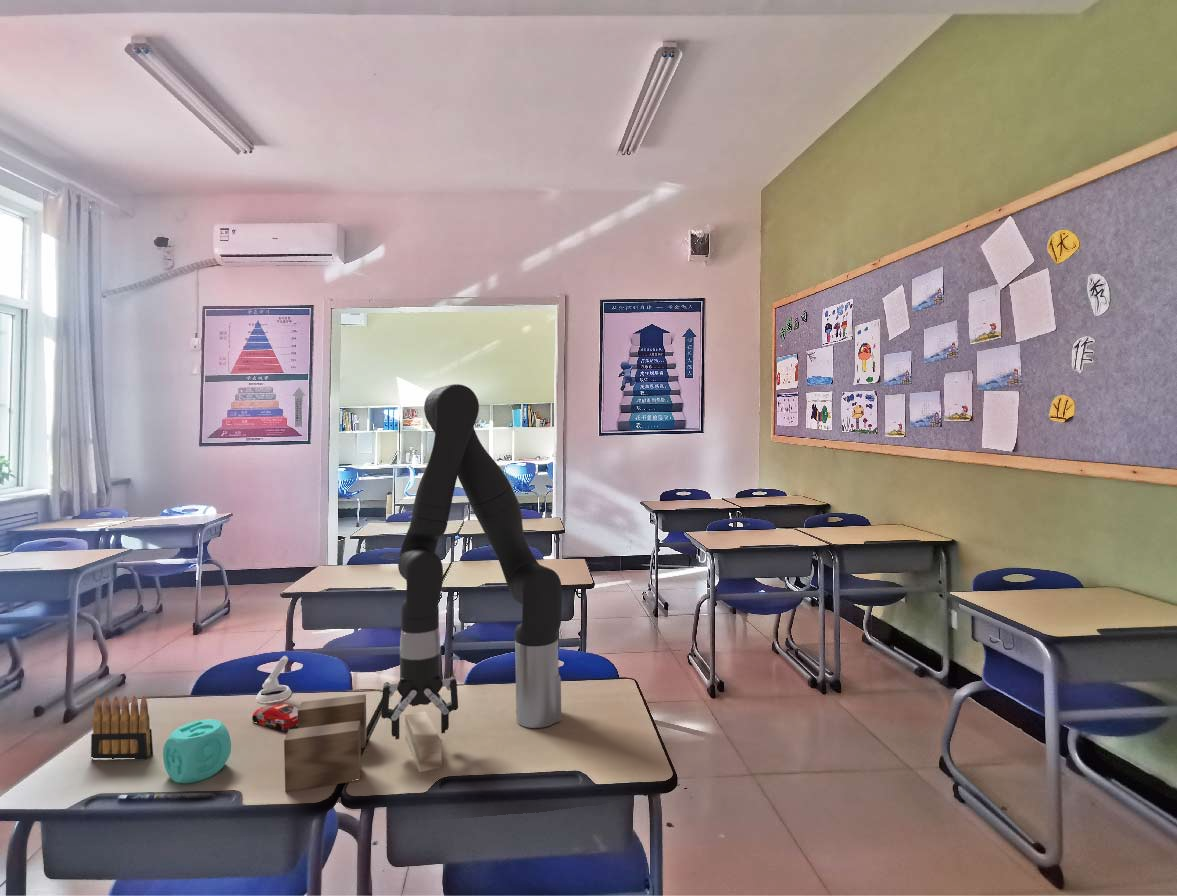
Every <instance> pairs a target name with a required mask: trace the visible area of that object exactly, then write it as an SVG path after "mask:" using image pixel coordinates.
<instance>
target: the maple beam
mask: <svg viewBox="0 0 1177 896" xmlns="http://www.w3.org/2000/svg"><path fill="white" fill-rule="evenodd" d="M404 717H405V718H404V721H405V722H404V724H405V725H404V727H405V730H404V732H405V735H404V736H405V742H406V743H407V746H408V748H409V750H410V752H411V755H412V757H413V759H414V762H415V765H416V767H417V769H418V771H419V773H421V772H426V771H429V770H434V769H437V768H442V767H443V765H442V764H443V763H442V762H443V761H442V759H443V757H442V754H443V752H442V740H441V737H440V735H439V734H438V732H437V730H436V728H435V727H434V725H433V723H432V721H431V719H430V718H429V715H428V714H427V712H426V711H425V710H424V711H419V712H415V713H411V714H406V715H404Z"/></svg>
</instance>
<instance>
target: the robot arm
mask: <svg viewBox="0 0 1177 896" xmlns="http://www.w3.org/2000/svg"><path fill="white" fill-rule="evenodd" d="M423 409H424V417H425V419H426V420H427V422H428V424H429V426H430V427H431V429H432V431H433V432H434V439H433V440H434V441H433V446H432V449H431V453H430V457H429V460H428V462H427V464H426V467H425V469H424V471H423V474H422V476H421V479H420V481H419V484H418V487H417V490H416V494H415V497H414V501H413V507H412V512H411V517H410V523H409V527H408V529H407V532H406V534H405V537H404V539H403V543H402V544H401V548H400V551H399V556H398V560H397V561H398V562H397V567H398V572H399V575H400V576H401V577H402V578H403V579H404V580H405V581H406V595H405V600H403V602H402V605H401V613H400V614H401V617H400V621H401V622H400V627H401V628H400V639H399V682H398V683H390V682H388V681H386V682H384V683H383V685H382V699H381V712H380V716H381V718H382V719H389V720H390V721H391V736H392V738H394V737H395V738H394V739H395V740H400V716H401V715H402V713H403V712H404V711H405V710H406V708H407V707H408V706H409V705H410V706H411V707H416V706H419V705H420V706H421V705H424V706H425V705H426V706H427V705H429V704H431V703H432V704H434V706H435V707H436V708H437V709H438V710H439V711H440V733H441V734H445V733H446V731H448V729H449V726H450V725H449V724H450V723H449V722H450V721H449V720H450V718H449V716H450V713H451V712H452V711H457V710H458V709H459V701H458V700H459V697H458V683H457V678H456V677H457V676H455V675H451V676H450V677H448V678H442V677H441V635H440V627H439V626H440V625H439V624H440V623H439V621H440V615H439V614H440V613H439V611H440V610H439V602H440V598H441V593H442V588H443V583H444V582H443V580H444V567H443V563H442V559H441V558H440V556H439V555H438V554H437V553H436V549H437V545H438V542H439V539H440V537H442V536H444V534H445V533H446V530H447V527H448V523H449V519H450V513H451V508H452V503H453V498H454V492H455V487H456V484H457V483H456V482H457V479H458V480H459V482H460V485H461V487H462V489H463V491H464V493H465V496H466V498H467V500H468V503H469V504H470V507H471V508H472V511H473V513H474V515H475V517H476V519H477V521H478V523H479V525H480V527H481V528H482V530H483V533H484V535H485V537H486V539H487V540H488V542H489V544H490V545H491V548H492V549H493V551H494V553H495V555H496V557H497V560H498V562H499V565H500V568H501V571H502V574H503V576H504V579H505V582H506V586H507V587H508V590H509V593H510V595H511V597H512V598H513V599H514V600H515V601H516V602H517V603H519V604H521V605H522V608H521V609H522V611H521V612H522V614H521V622H520V623H519V624H518V625H516V627H515V629H514V650H515V651H514V654H515V657H514V658H515V659H514V660H515V661H514V662H515V714H516V715H515V717H516V718H515V720H516V722H517V724H519V725H520V726H522V727H525V728H529V729H530V728H531V729H541V728H546V727H549V726H552V725H554V724H556V723H559V722H562V677H561V676H560V673H559V641H558V639H559V630H560V628H561V625H562V611H563V589H562V587H563V586H562V581H561V578H560V576H559V574H558V573H557V572H556V571H555V570H553V569H552V568H549V567H546V566H543V565H541V564H540V563H539V562H538V560H537V559H536V557H535V556H534V554H533V552H532V551H531V549H530V547H529V545H528V542H527V539H526V538H525V534H524V533H525V532H524V527H523V526H524V525H523V516H522V510H521V506H520V503H519V501H518V497H517V496H516V493H515V491H514V489H513V487H512V485H511V483H510V481H509V479H508V477H507V475H506V474H505V473H504V472H503V470H502V468H501V467H500V465H498V463H496V461H495V460H494V459H493V457H492V456H491V455H490V453H488V451H487V450H486V449H485V447H484V446H483V444H482V443H481V441H480V439H479V437H478V435H477V431H476V430H475V424H476V423H477V422H476V421H477V419H478V416H479V413H480V403H479V399H478V397H477V395H476V394H475V392H474V391H473V389H471V388H470V387H468V386H466V385H463V384H459V383H456V384H455V383H454V384H453V383H452V384H447V385H445V386H441V387H437V388H435V389H433V390H432V391H430V392H429V393H428V395H427V396H426V397H425V400H424V407H423ZM443 687H445V688H446V690H447V691H450V701H449V702H447V701H445V699H444V698H443V697H442V695H441V694H440V693H439V692H440V691H441V689H442V688H443ZM396 691H397V693H399V695H400V696H401V697H400V698H399V700H398V701H397V704H396V705H395V706H394V708H393V709H392V708H389V707H390V697H393V696H394V694H395V692H396Z"/></svg>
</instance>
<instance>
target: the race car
mask: <svg viewBox="0 0 1177 896" xmlns="http://www.w3.org/2000/svg"><path fill="white" fill-rule="evenodd" d="M298 709H299V708H298V707H295V706H294V705H292V704H289V703H284V702H283V703H279V704H278V703H277V704H269V705H265V706H262V707H259V708H257V709H256V710H255V711H254V712H253V713H252V717H251V718H252V719H251V720H252V722H253V723H254V722H257V723H258V724H257V725H261V726H264V727H267V728H270V729H274V730H276V731H277V730H279V731H278V732H288V731H289V730H290V729H297V728H298Z"/></svg>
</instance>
